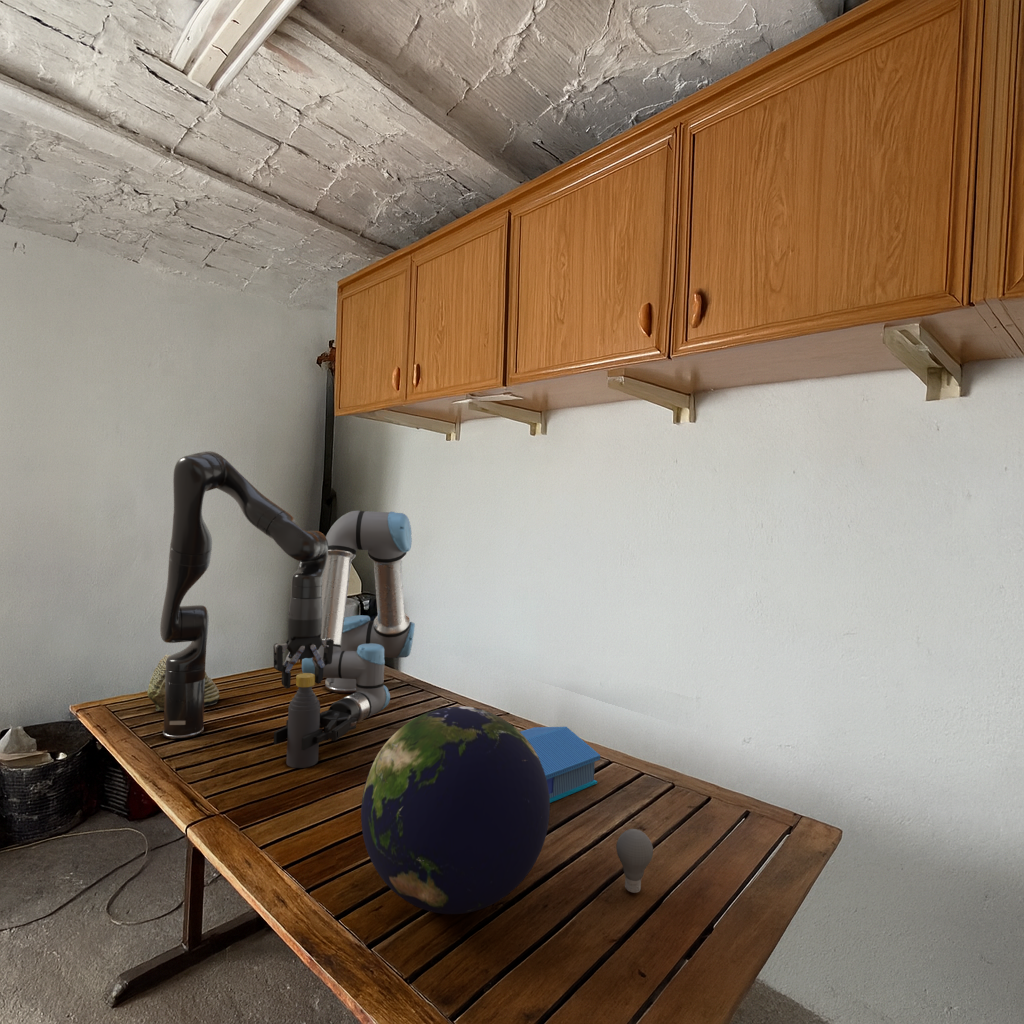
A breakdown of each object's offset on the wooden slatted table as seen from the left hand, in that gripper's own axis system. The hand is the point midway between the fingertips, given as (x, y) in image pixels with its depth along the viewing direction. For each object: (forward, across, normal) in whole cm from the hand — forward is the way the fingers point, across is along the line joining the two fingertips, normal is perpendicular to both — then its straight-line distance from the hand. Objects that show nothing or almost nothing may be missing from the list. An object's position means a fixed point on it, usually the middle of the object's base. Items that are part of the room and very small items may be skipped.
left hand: (302, 685), depth 150 cm
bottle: (+19, +1, 0) cm, 19 cm away
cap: (-2, +1, 0) cm, 2 cm away
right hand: (+12, -4, -2) cm, 13 cm away
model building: (+18, +30, -41) cm, 54 cm away
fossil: (+19, -12, +56) cm, 61 cm away
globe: (+18, -1, -63) cm, 66 cm away
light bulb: (+18, +24, -80) cm, 85 cm away
